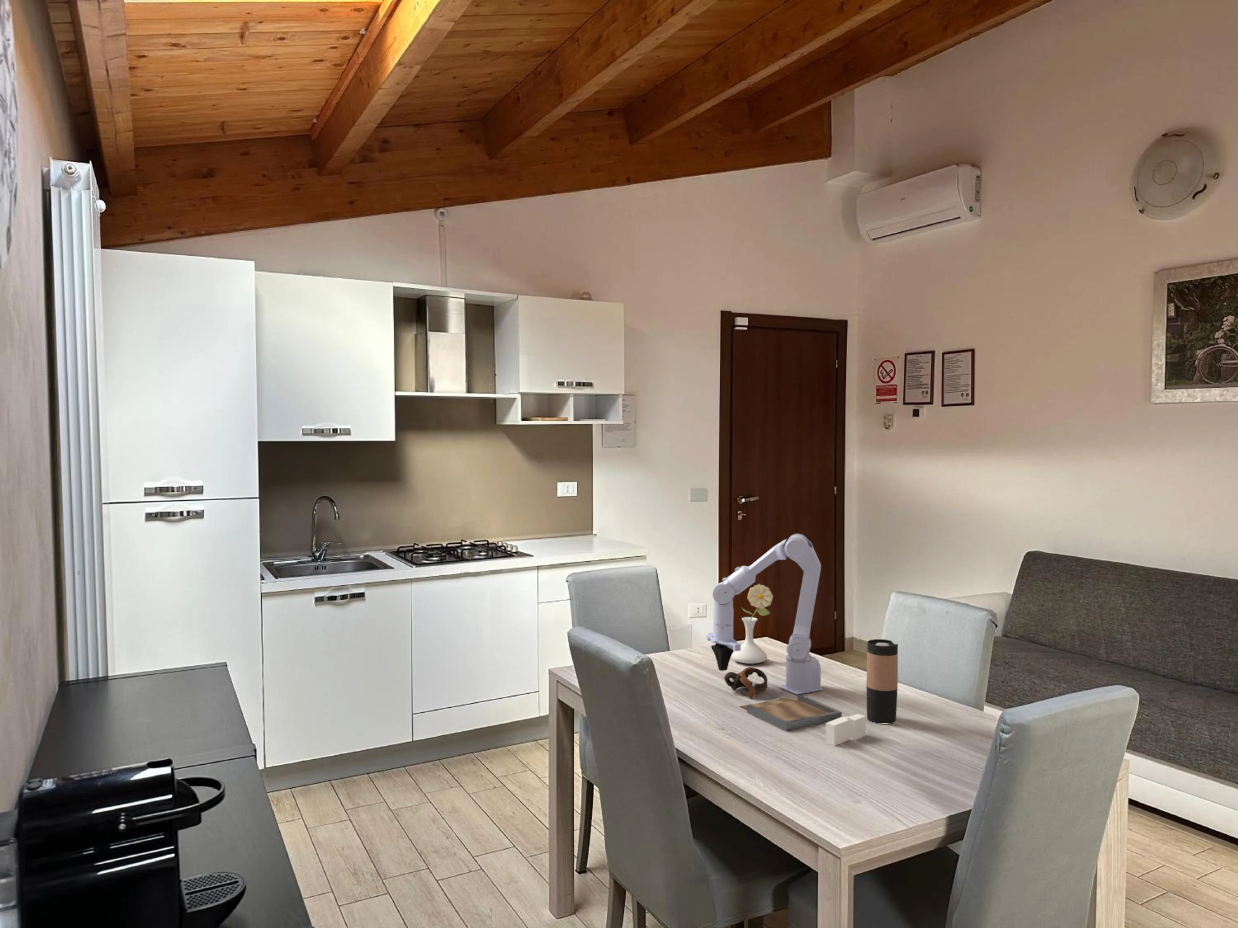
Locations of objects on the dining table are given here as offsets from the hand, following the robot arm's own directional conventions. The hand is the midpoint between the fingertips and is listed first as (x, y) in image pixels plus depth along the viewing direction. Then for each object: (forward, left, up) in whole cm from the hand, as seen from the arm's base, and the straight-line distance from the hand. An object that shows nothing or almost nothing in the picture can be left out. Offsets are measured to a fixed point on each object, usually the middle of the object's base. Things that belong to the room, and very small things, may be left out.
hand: (722, 669), depth 257 cm
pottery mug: (0, +11, -4) cm, 11 cm away
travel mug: (-18, +45, -4) cm, 49 cm away
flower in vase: (-22, -15, -4) cm, 27 cm away
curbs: (0, +32, -4) cm, 32 cm away
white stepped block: (0, +52, -5) cm, 52 cm away
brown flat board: (0, +29, -4) cm, 29 cm away
